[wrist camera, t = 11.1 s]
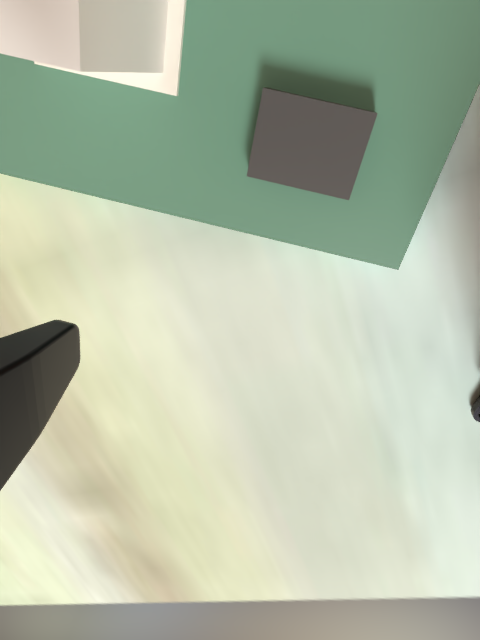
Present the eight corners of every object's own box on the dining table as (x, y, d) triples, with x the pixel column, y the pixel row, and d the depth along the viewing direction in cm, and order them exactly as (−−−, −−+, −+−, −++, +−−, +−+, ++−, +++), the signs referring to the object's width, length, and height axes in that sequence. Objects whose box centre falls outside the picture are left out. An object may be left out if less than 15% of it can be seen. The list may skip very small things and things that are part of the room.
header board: (598, -221, 11) (689, -320, 8) (394, 258, 18) (406, 290, 16) (-103, -345, 12) (-230, -470, 9) (-23, 158, 19) (-80, 172, 17)
